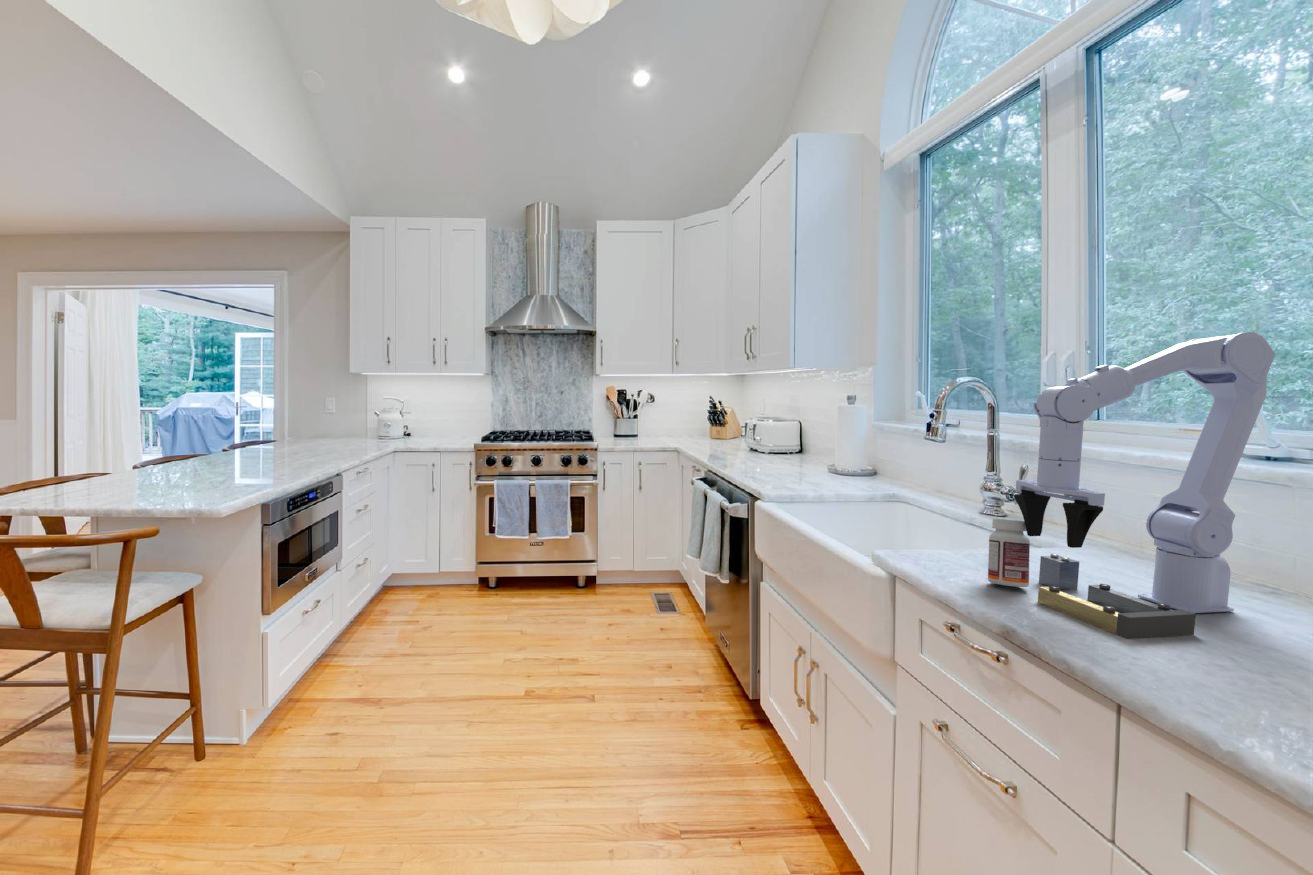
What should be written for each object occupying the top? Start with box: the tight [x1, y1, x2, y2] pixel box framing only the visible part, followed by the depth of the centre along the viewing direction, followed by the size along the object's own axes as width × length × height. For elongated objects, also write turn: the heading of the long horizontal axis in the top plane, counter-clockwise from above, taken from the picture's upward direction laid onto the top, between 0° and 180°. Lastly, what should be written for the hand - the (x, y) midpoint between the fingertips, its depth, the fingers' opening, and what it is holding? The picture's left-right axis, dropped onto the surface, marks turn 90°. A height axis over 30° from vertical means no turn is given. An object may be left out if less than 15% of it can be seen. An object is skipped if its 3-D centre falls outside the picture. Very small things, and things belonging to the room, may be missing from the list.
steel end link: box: [1086, 583, 1175, 613], centre depth 89 cm, size 2×13×3 cm, turn 12°
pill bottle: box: [987, 518, 1031, 588], centre depth 101 cm, size 6×6×11 cm
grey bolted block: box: [1038, 553, 1080, 591], centre depth 102 cm, size 4×4×6 cm
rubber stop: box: [1115, 609, 1197, 640], centre depth 81 cm, size 12×2×3 cm, turn 102°
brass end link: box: [1037, 586, 1119, 635], centre depth 87 cm, size 2×13×3 cm, turn 12°
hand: (1053, 541), depth 95 cm, fingers open, 7 cm apart
